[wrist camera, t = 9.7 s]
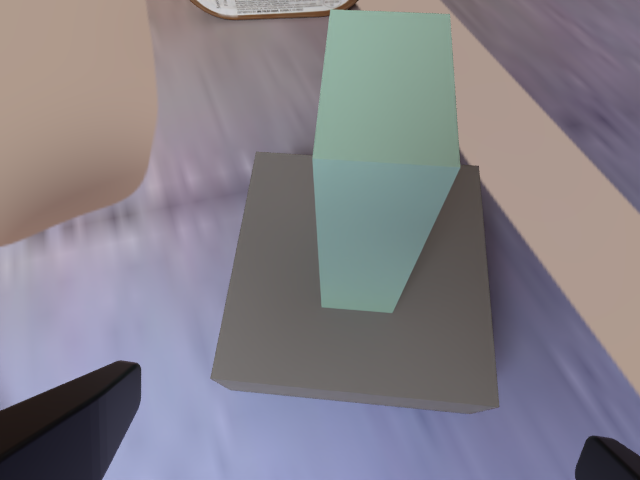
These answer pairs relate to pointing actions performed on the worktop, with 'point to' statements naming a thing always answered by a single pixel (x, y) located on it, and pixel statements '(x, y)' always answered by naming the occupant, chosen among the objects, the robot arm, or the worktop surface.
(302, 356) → the plinth
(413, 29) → the mint green block
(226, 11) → the tin
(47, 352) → the worktop surface
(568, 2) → the worktop surface
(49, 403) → the robot arm
